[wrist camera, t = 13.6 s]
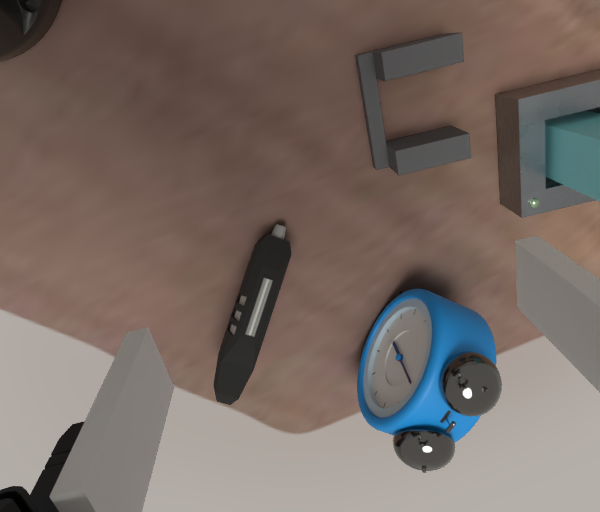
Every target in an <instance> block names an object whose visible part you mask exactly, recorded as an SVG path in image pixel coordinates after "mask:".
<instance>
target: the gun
mask: <svg viewBox="0 0 600 512" xmlns="http://www.w3.org/2000/svg"><path fill="white" fill-rule="evenodd" d="M285 232H286V227H284V226H281V225H278V224H276V225H275V227H274V229H273V232H272V234H271V235H269V234H268V235H266V236H264V237H263V238H262V239H261V240H260V241H259V242H258V243H257V244H256V245H255V247H254V250H253V253H252V256H251V259H250V262H249V265H248V268H247V270H246V273H245V276H244V279H243V282H242V285H241V288H240V291H239V294H238V297H237V300H236V303H235V306H234V309H233V312H232V315H231V318H230V321H229V324H228V327H227V330H226V333H225V336H224V339H223V342H222V345H221V348H220V351H219V354H218V360H217V367H216V373H215V379H214V389H215V395H216V400H217V401H218V402H221V403H225V404H229V405H231V404H232V403H233V402H235V401H236V400H238V399H239V397H240V395H241V393H242V391H243V389H244V387H245V385H246V383H247V381H248V379H249V378H250V376H251V374H252V372H253V370H254V367H255V364H256V361H257V357H258V354H259V351H260V348H261V345H262V342H263V339H264V336H265V333H266V330H267V327H268V324H269V321H270V318H271V315H272V312H273V309H274V306H275V302H276V299H277V296H278V293H279V290H280V287H281V284H282V281H283V278H284V275H285V272H286V269H287V266H288V263H289V260H290V257H291V249H290V242H288V241H286V240H284V237H285Z"/></svg>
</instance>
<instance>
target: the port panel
mask: <svg viewBox="0 0 600 512" xmlns="http://www.w3.org/2000/svg"><path fill="white" fill-rule="evenodd" d="M495 102H496V123H497V144H498V165H499V186H500V204H502V205H503V206H505V207H506V208H508V209H509V210H511V211H512V212H514V213H515V214H517V215H518V216H520V217H521V218H523V217H527V216H531V215H535V214H540V213H544V212H548V211H552V210H556V209H561V208H565V207H569V206H573V205H578V204H582V203H586V202H590V201H594V200H595V199H593V198H591V197H589V196H587V195H584V194H582V193H580V192H578V191H576V190H574V189H571V188H569V187H567V186H565V185H563V184H561V183H558V182H556V181H554V180H552V179H550V178H548V177H546V172H545V120H548V119H552V118H556V117H560V116H564V115H569V114H573V113H577V112H581V111H589V112H594V113H599V114H600V69H598V70H594V71H590V72H586V73H581V74H577V75H573V76H569V77H565V78H561V79H557V80H553V81H549V82H545V83H540V84H536V85H532V86H528V87H524V88H520V89H516V90H512V91H508V92H504V93H499V94H495Z"/></svg>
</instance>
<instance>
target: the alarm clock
mask: <svg viewBox="0 0 600 512" xmlns="http://www.w3.org/2000/svg"><path fill="white" fill-rule="evenodd" d="M501 388H502V382H501V377H500V373H499V371H498V369H497V367H496V348H495V343H494V339H493V335H492V333H491V330H490V328H489V326H488V324H487V323H486V321H485V320H484V319H483V318H482V317H481V316H480V315H479V314H478V313H477V312H475V311H473V310H471V309H469V308H467V307H464V306H462V305H460V304H457V303H455V302H453V301H450V300H448V299H446V298H444V297H441V296H439V295H437V294H434V293H432V292H430V291H427V290H424V289H411V290H408V291H405V292H400V293H399V295H398V296H397V297H396V298H395V299H393V300H392V301H391V302H390V303H389V304H388V305H387V306H386V308H385V309H384V310H383V311H382V313H381V314H380V316H379V317H378V319H377V320H376V322H375V324H374V325H373V327H372V329H371V331H370V333H369V336H368V338H367V341H366V343H365V346H364V349H363V352H362V356H361V360H360V365H359V371H358V380H357V392H358V401H359V406H360V409H361V412H362V414H363V416H364V418H365V419H366V421H367V422H368V423H369V424H370V425H371V426H372V427H374V428H375V429H377V430H380V431H382V432H385V433H388V434H392V435H394V437H393V446H394V450H395V452H396V454H397V456H398V457H399V459H401V461H403V462H404V463H405V464H406V465H408V466H410V467H412V468H414V469H418V470H422V471H423V472H424V473H426V471H432V470H437V469H440V468H442V467H444V466H445V465H447V464H448V463H449V462H450V461H451V459H452V457H453V455H454V452H455V442H456V441H458V440H460V439H461V438H462V437H463V436H464V435H466V433H468V432H469V431H470V430H471V428H472V427H473V426H474V424H475V423H476V422H477V421H478V419H479V417H480V416H481V415H483V414H485V413H487V412H488V411H489V410H491V409H492V408H493V407H494V406H495V405H496V403H497V401H498V399H499V397H500V394H501V390H502V389H501Z"/></svg>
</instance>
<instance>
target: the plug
mask: <svg viewBox="0 0 600 512" xmlns="http://www.w3.org/2000/svg"><path fill="white" fill-rule="evenodd" d="M545 172H546V177H548V178H550V179H552V180H554V181H556V182H558V183H561V184H563V185H565V186H567V187H569V188H571V189H574V190H576V191H578V192H580V193H582V194H584V195H587V196H589V197H591V198H593V199H595V200H597V201H600V114H599V113H594V112H589V111H581V112H577V113H573V114H569V115H564V116H560V117H556V118H552V119H548V120H545Z"/></svg>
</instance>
